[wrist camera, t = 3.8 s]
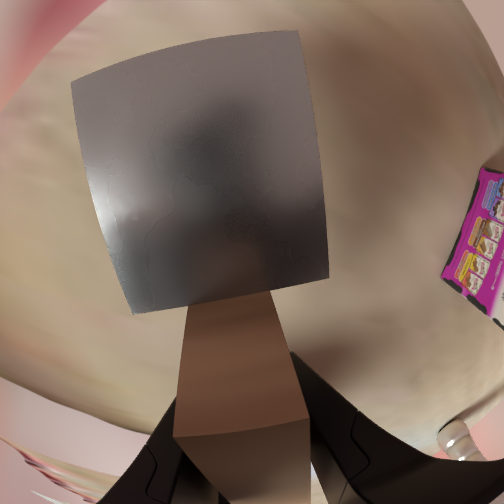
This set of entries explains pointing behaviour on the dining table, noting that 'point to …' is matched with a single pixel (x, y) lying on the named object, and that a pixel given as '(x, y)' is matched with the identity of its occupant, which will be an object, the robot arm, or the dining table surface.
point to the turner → (216, 237)
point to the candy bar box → (481, 249)
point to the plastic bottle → (458, 442)
